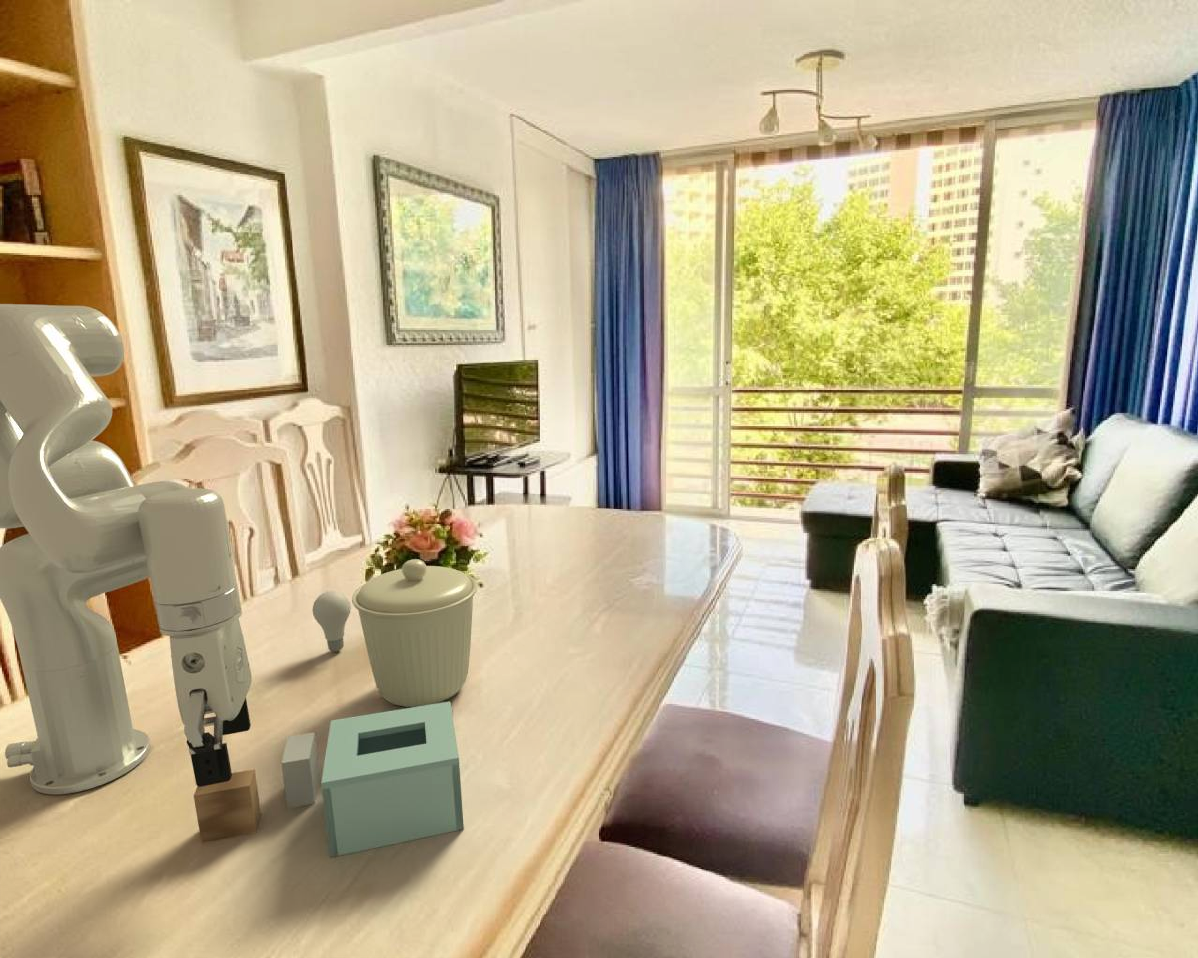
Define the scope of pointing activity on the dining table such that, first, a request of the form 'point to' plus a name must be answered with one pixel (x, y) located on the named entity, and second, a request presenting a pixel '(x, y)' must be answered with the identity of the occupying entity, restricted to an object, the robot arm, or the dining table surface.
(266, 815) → the dining table surface
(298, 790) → the gray rectangular block
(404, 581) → the canister
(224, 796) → the wooden block
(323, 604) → the lightbulb
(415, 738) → the coin box
